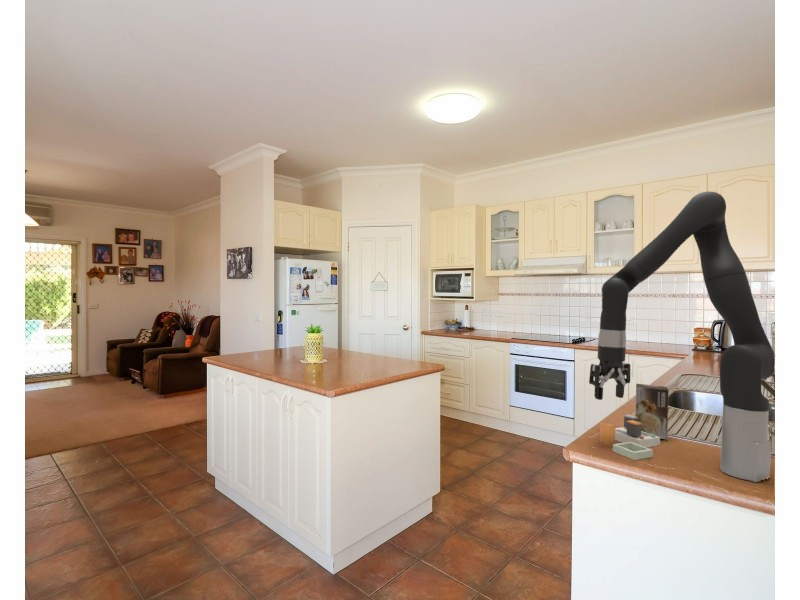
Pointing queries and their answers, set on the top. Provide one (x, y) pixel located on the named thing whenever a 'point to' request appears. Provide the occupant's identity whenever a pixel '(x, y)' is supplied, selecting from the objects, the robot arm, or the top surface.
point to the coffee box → (652, 409)
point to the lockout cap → (607, 434)
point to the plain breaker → (628, 418)
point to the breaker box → (637, 438)
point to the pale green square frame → (639, 450)
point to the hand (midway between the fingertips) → (609, 398)
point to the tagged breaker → (634, 428)
